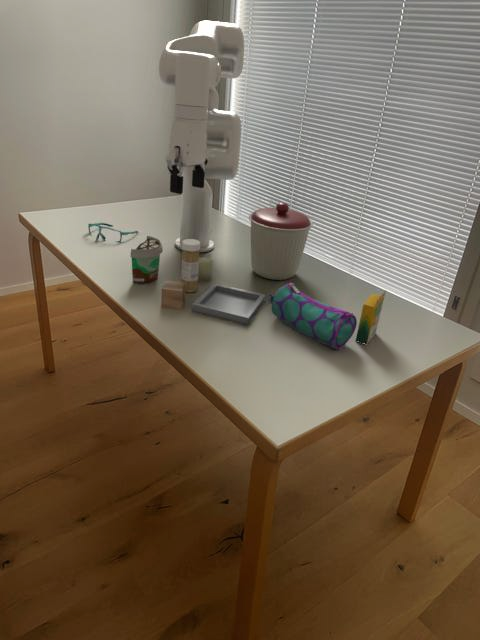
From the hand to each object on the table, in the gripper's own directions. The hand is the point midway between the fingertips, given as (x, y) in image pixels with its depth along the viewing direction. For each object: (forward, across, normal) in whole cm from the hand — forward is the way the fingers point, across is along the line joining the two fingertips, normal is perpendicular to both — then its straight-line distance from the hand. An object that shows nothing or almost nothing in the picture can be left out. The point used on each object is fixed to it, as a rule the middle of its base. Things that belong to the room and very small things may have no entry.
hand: (187, 189), depth 121 cm
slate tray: (+26, +2, +15) cm, 30 cm away
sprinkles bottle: (+26, -1, +2) cm, 26 cm away
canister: (+26, -26, +15) cm, 39 cm away
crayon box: (+27, -4, +48) cm, 56 cm away
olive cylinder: (+26, -10, 0) cm, 28 cm away
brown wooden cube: (+26, +9, +3) cm, 28 cm away
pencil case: (+27, +2, +36) cm, 45 cm away
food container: (+26, 0, -11) cm, 28 cm away
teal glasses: (+25, -21, -41) cm, 52 cm away
